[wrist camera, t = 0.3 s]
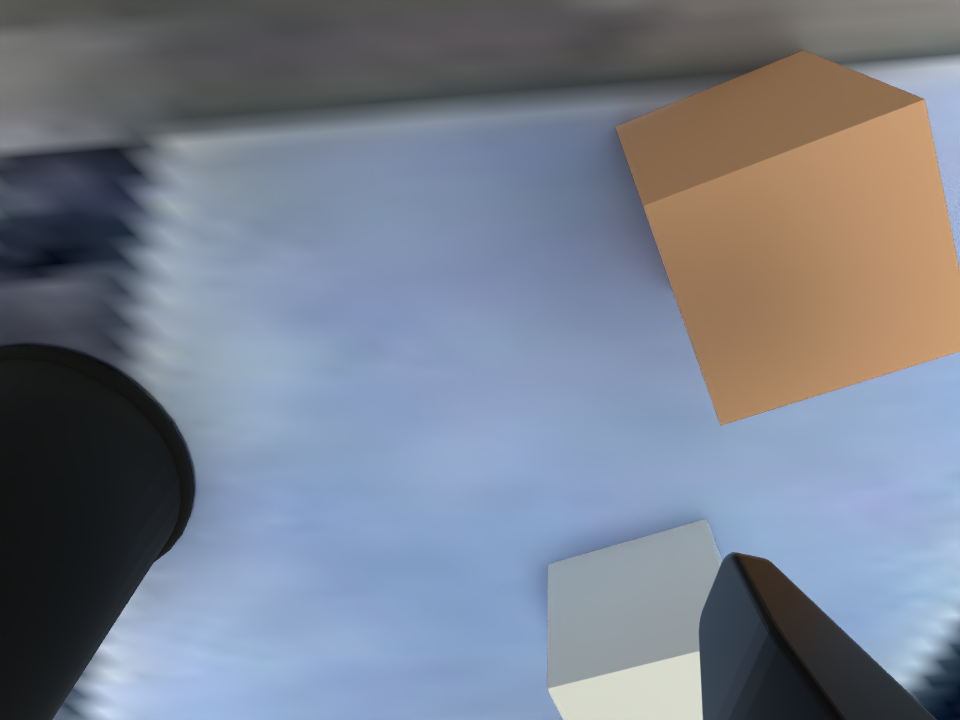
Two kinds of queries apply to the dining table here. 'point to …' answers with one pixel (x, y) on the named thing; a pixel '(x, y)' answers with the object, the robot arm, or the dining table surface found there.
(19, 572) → the aerosol can
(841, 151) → the brown block
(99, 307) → the dining table surface
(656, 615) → the off-white cube
